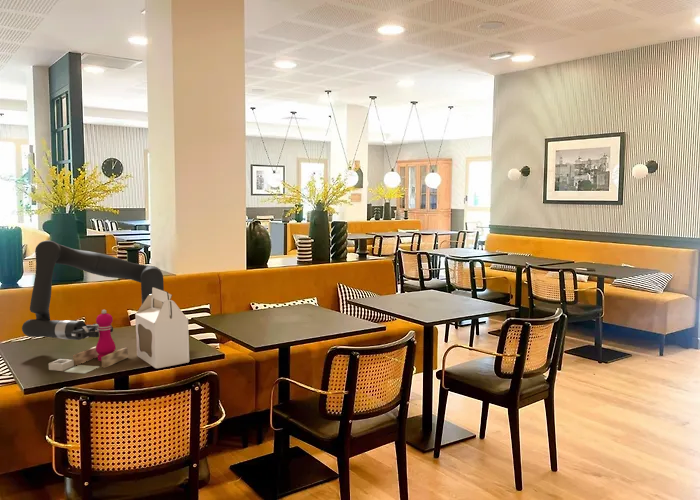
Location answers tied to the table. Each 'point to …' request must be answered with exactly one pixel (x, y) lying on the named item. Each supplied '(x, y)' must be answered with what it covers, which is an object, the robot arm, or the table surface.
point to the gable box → (161, 331)
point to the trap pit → (61, 364)
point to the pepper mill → (104, 335)
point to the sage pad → (81, 369)
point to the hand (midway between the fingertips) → (105, 331)
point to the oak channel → (106, 359)
